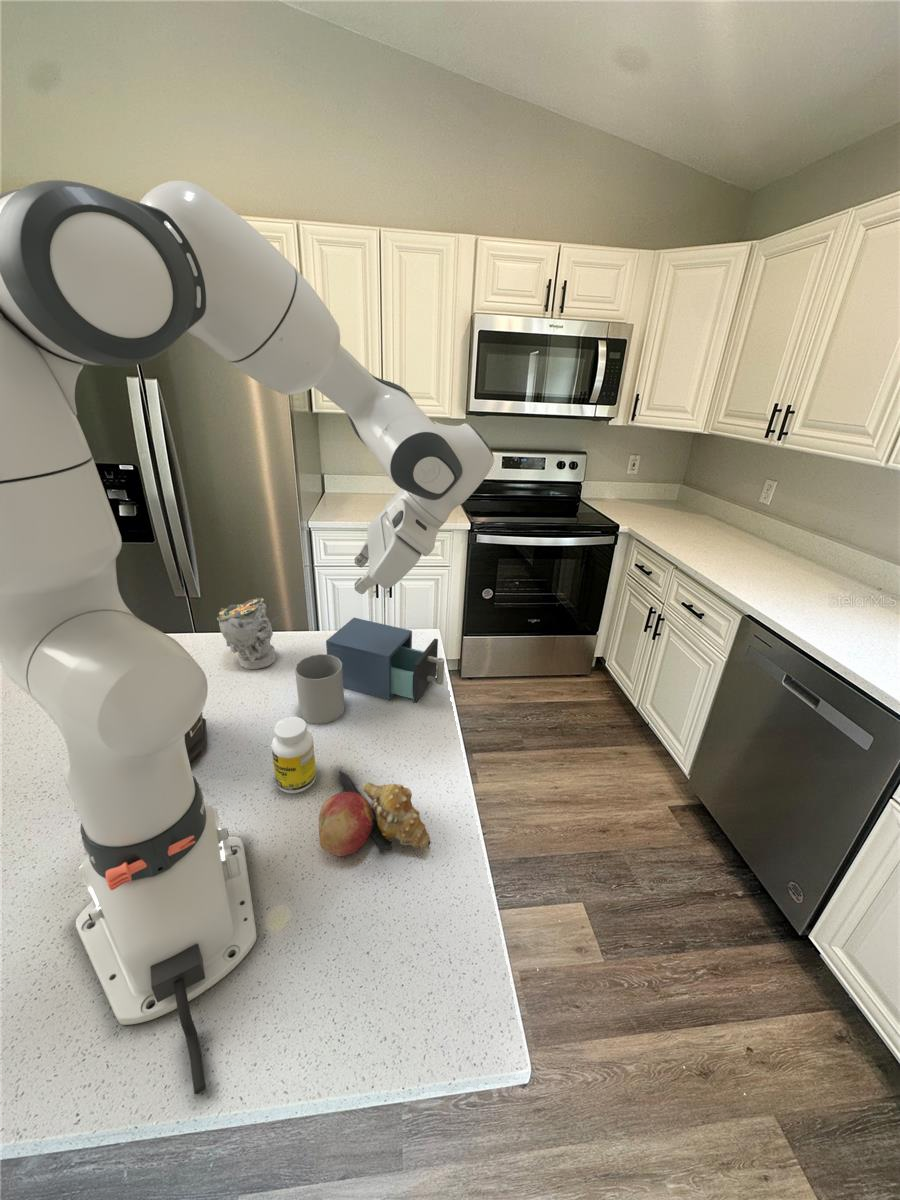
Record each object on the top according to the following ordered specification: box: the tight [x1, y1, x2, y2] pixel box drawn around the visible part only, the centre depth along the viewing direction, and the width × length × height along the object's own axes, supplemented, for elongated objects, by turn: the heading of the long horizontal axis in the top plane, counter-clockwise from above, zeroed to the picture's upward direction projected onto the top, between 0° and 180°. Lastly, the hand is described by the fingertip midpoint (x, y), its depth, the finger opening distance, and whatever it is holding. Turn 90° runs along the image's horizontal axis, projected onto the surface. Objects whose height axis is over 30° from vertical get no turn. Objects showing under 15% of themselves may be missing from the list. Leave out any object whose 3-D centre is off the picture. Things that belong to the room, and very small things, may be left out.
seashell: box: [362, 781, 431, 851], centre depth 70 cm, size 9×8×10 cm
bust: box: [216, 592, 308, 670], centre depth 106 cm, size 11×10×15 cm
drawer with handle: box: [391, 638, 445, 704], centre depth 100 cm, size 17×11×9 cm, turn 70°
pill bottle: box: [270, 716, 317, 794], centre depth 76 cm, size 6×6×11 cm
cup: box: [294, 653, 345, 725], centre depth 92 cm, size 8×8×10 cm
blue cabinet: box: [325, 617, 413, 701], centre depth 103 cm, size 14×11×10 cm
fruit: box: [318, 791, 375, 857], centre depth 68 cm, size 8×8×8 cm
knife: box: [338, 769, 393, 852], centre depth 74 cm, size 18×1×3 cm
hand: (357, 576), depth 82 cm, fingers open, 8 cm apart
